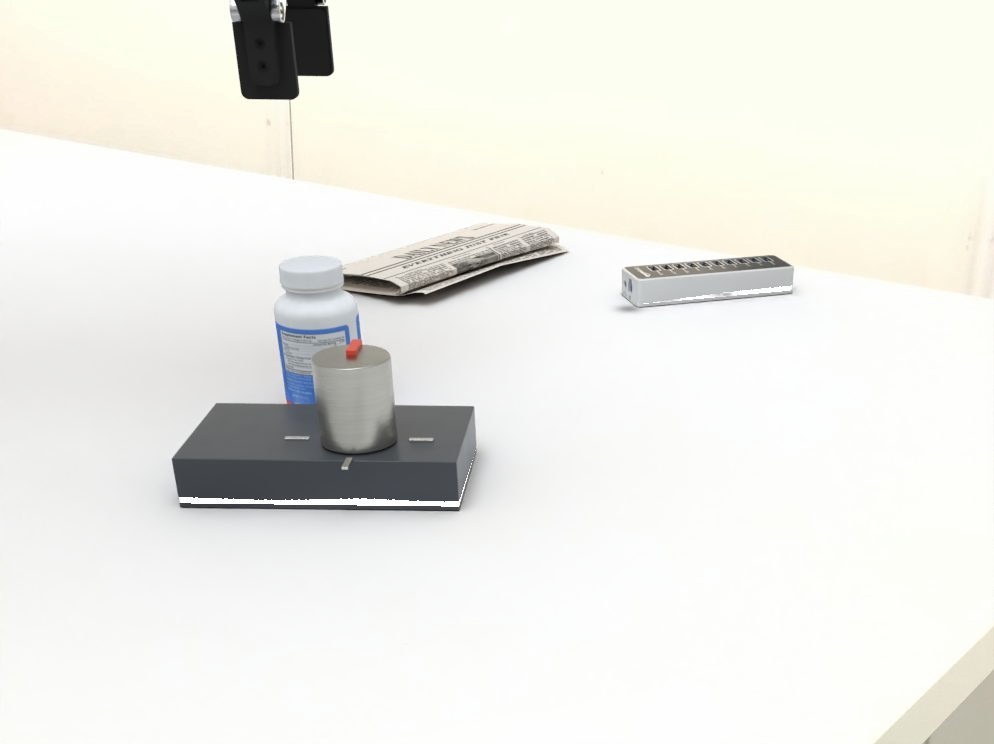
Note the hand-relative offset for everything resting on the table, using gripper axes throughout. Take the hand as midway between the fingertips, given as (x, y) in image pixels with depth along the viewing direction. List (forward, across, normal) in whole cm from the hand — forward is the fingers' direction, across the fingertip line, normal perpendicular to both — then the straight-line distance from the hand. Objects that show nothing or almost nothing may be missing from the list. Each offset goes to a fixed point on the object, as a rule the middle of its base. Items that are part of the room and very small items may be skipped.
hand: (290, 86), depth 80 cm
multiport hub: (+20, -29, +27) cm, 45 cm away
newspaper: (+20, -36, +4) cm, 42 cm away
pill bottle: (+20, 0, 0) cm, 20 cm away
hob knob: (+17, +13, +5) cm, 22 cm away
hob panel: (+20, +12, +3) cm, 24 cm away
